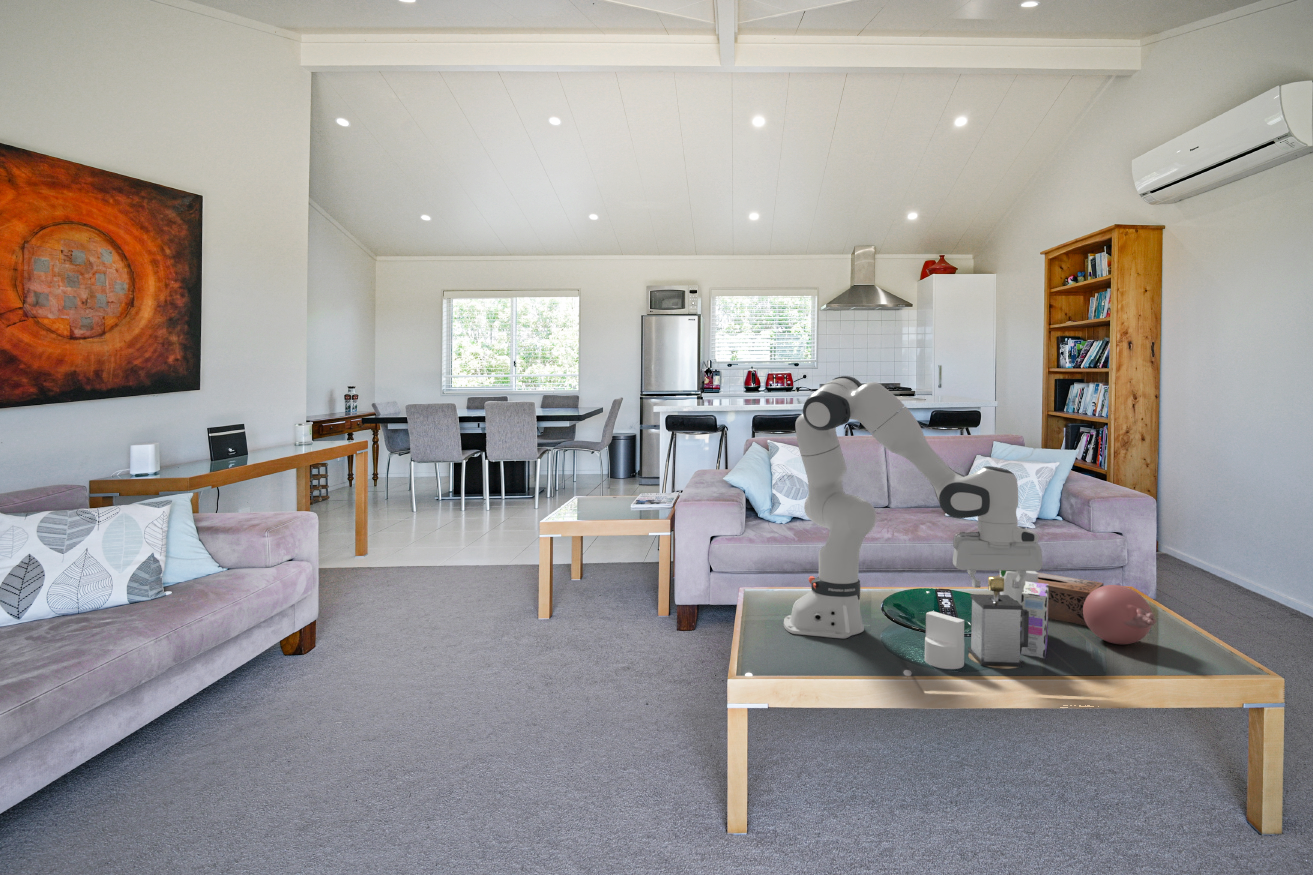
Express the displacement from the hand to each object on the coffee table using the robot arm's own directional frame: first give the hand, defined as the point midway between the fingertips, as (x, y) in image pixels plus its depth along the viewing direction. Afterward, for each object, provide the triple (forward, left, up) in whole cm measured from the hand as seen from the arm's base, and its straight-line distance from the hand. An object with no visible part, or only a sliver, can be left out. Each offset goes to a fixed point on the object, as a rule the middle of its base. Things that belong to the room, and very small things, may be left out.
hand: (996, 587), depth 170 cm
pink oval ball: (+37, +14, -19) cm, 44 cm away
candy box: (+13, +9, -19) cm, 25 cm away
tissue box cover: (+31, +43, -19) cm, 56 cm away
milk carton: (+14, +22, -19) cm, 32 cm away
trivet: (0, 0, -19) cm, 19 cm away
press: (+1, 0, -18) cm, 18 cm away
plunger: (0, 0, -14) cm, 14 cm away
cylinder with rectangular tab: (-13, -3, -19) cm, 23 cm away
